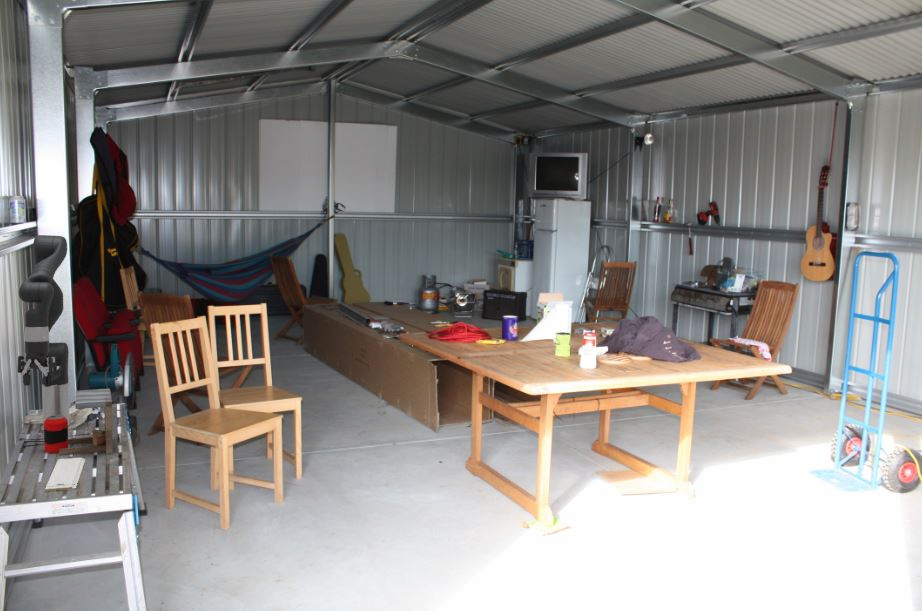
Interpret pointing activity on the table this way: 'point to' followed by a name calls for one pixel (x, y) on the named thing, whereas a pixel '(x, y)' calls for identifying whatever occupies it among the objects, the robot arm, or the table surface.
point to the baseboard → (65, 474)
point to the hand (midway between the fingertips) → (37, 386)
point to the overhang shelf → (100, 437)
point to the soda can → (55, 434)
